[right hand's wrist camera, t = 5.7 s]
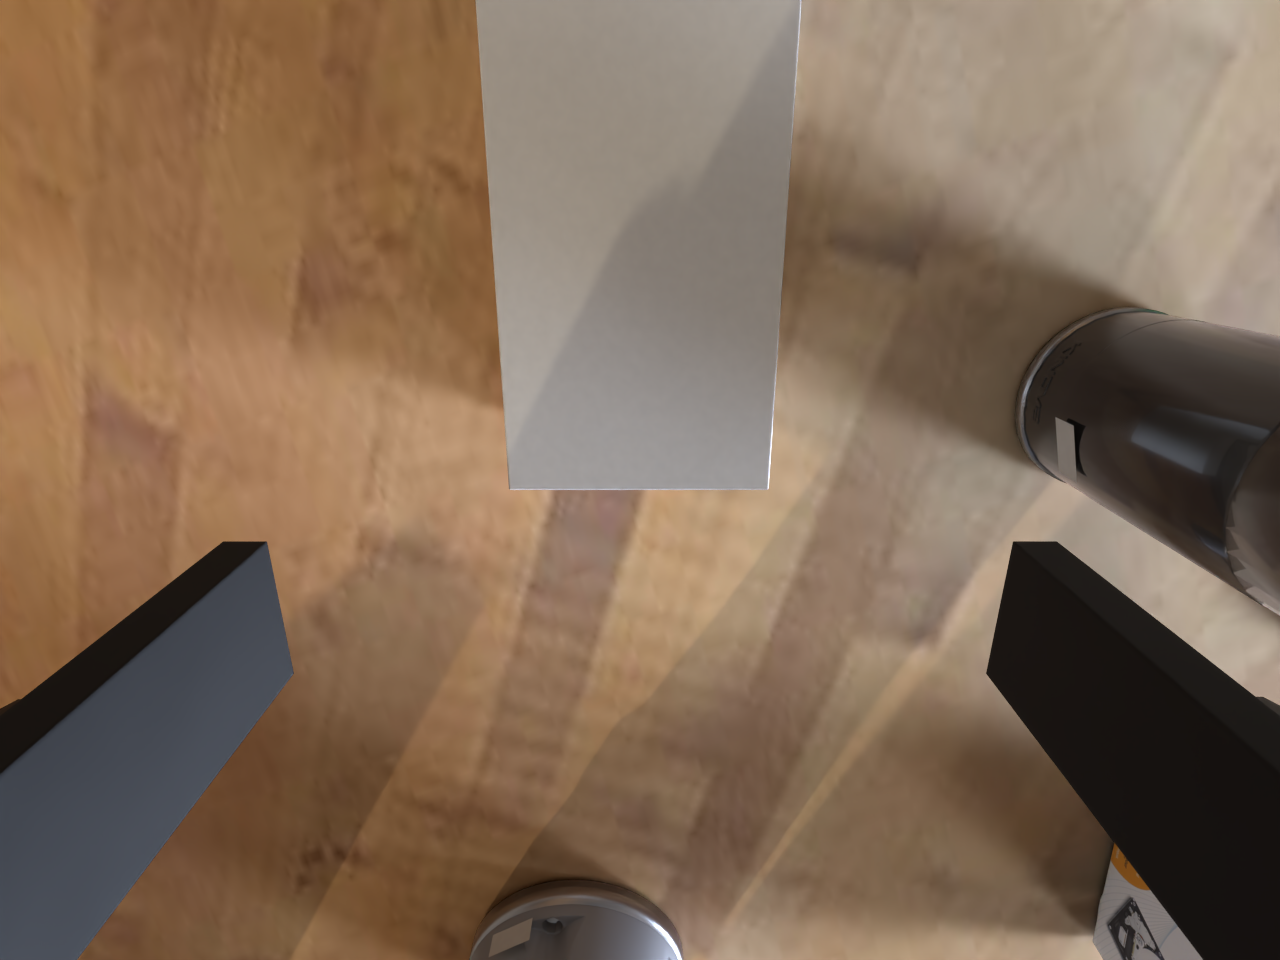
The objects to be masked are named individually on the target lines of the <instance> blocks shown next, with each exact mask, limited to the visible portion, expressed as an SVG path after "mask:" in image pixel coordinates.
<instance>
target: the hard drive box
mask: <svg viewBox="0 0 1280 960" xmlns="http://www.w3.org/2000/svg"><path fill="white" fill-rule="evenodd" d="M1093 943H1094V945H1095V946H1096V948H1097V950H1098V951H1099V953H1100V955H1101V956H1102V958H1103V959H1104V960H1203V959H1202V958H1201V956H1200V955H1199V954H1198V952H1197V951H1196V950H1195V948H1194V947H1193V946H1192V944H1191V943H1190V942H1189V941H1188V939H1187V938H1186V937H1185V935H1184V934H1183V933H1182V931H1181V930H1180V929H1179V927H1178V926H1177V925H1176V923H1175V922H1174V921H1173V919H1172V918H1171V917H1170V915H1169V914H1168V913H1167V911H1166V910H1165V909H1164V907H1163V906H1162V905H1161V904H1160V902H1159V901H1158V900H1157V898H1156V897H1155V896H1154V894H1153V893H1152V892H1151V890H1150V889H1149V888H1148V886H1147V885H1146V884H1145V882H1144V881H1143V880H1142V878H1141V877H1140V876H1139V874H1138V873H1137V872H1136V871H1135V869H1134V868H1133V867H1132V865H1131V864H1130V863H1129V861H1128V860H1127V859H1126V857H1125V856H1124V855H1123V853H1122V852H1121V851H1120V849H1119V848H1118V847H1117V845H1116V844H1115V843H1114V847H1113V851H1112V856H1111V860H1110V865H1109V870H1108V874H1107V878H1106V883H1105V887H1104V891H1103V894H1102V896H1101V898H1100V903H1099V909H1098V917H1097V922H1096V927H1095V932H1094V937H1093Z"/></svg>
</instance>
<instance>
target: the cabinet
mask: <svg viewBox="0 0 1280 960" xmlns="http://www.w3.org/2000/svg"><path fill="white" fill-rule="evenodd" d="M476 15H477V29H478V44H479V58H480V73H481V87H482V102H483V116H484V131H485V146H486V160H487V175H488V189H489V204H490V218H491V233H492V247H493V262H494V276H495V291H496V306H497V320H498V335H499V349H500V364H501V378H502V393H503V407H504V422H505V436H506V451H507V466H508V480H509V489H510V490H768V488H769V473H770V458H771V444H772V429H773V414H774V399H775V385H776V370H777V355H778V340H779V325H780V311H781V296H782V281H783V266H784V252H785V237H786V222H787V207H788V192H789V178H790V163H791V148H792V133H793V119H794V104H795V89H796V74H797V60H798V45H799V30H800V15H801V0H476Z"/></svg>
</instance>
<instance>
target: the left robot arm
mask: <svg viewBox="0 0 1280 960" xmlns="http://www.w3.org/2000/svg"><path fill="white" fill-rule="evenodd" d="M1015 423H1016V430H1017V434H1018V437H1019V440H1020V443H1021V445H1022V447H1023V449H1024V451H1025V453H1026V454H1027V455H1028V457H1029V458H1030V459H1031V460H1032V462H1033V463H1034V464H1035V465H1037V466H1038V467H1039V468H1040V469H1041V470H1043V471H1044V472H1046V473H1047V474H1049V475H1051V476H1052V477H1054V478H1056V479H1058V480H1060V481H1062V482H1064V483H1067V484H1069V485H1071V486H1072V487H1074V488H1075V489H1077V490H1078V491H1080V492H1082V493H1083V494H1085V495H1086V496H1088V497H1089V498H1091V499H1092V500H1094V501H1095V502H1097V503H1099V504H1100V505H1102V506H1103V507H1105V508H1107V509H1108V510H1110V511H1111V512H1113V513H1115V514H1116V515H1118V516H1119V517H1121V518H1123V519H1124V520H1126V521H1127V522H1129V523H1131V524H1132V525H1134V526H1136V527H1137V528H1139V529H1140V530H1142V531H1144V532H1145V533H1147V534H1148V535H1150V536H1152V537H1153V538H1155V539H1156V540H1158V541H1160V542H1161V543H1163V544H1164V545H1166V546H1168V547H1169V548H1171V549H1172V550H1174V551H1176V552H1177V553H1179V554H1181V555H1182V556H1184V557H1185V558H1187V559H1189V560H1190V561H1192V562H1193V563H1195V564H1197V565H1198V566H1200V567H1201V568H1203V569H1205V570H1206V571H1208V572H1209V573H1211V574H1213V575H1214V576H1216V577H1217V578H1219V579H1221V580H1222V581H1224V582H1226V583H1227V584H1229V585H1230V586H1232V587H1234V588H1235V589H1237V590H1238V591H1240V592H1242V593H1243V594H1245V595H1246V596H1248V597H1250V598H1251V599H1253V600H1254V601H1256V602H1258V603H1259V604H1261V605H1263V606H1265V607H1267V608H1268V609H1270V610H1271V611H1273V612H1275V613H1276V614H1278V615H1279V616H1280V336H1276V335H1271V334H1265V333H1260V332H1255V331H1249V330H1244V329H1238V328H1233V327H1228V326H1222V325H1217V324H1212V323H1207V322H1203V321H1197V320H1192V319H1186V318H1181V317H1175V316H1170V315H1168V314H1165V313H1162V312H1159V311H1155V310H1149V309H1144V308H1136V307H1120V308H1112V309H1107V310H1103V311H1099V312H1096V313H1093V314H1091V315H1088V316H1086V317H1083V318H1081V319H1080V320H1078V321H1076V322H1074V323H1072V324H1071V325H1069V326H1067V327H1066V328H1064V329H1063V330H1062V331H1060V332H1059V333H1058V334H1057V335H1055V336H1054V337H1053V338H1052V339H1051V340H1050V341H1049V342H1048V343H1047V344H1046V345H1045V346H1044V347H1043V348H1042V349H1041V351H1040V352H1039V353H1038V354H1037V356H1036V357H1035V358H1034V360H1033V361H1032V363H1031V364H1030V366H1029V368H1028V370H1027V371H1026V373H1025V375H1024V378H1023V380H1022V382H1021V385H1020V388H1019V391H1018V395H1017V400H1016V407H1015Z"/></svg>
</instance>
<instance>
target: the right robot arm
mask: <svg viewBox="0 0 1280 960" xmlns="http://www.w3.org/2000/svg"><path fill="white" fill-rule="evenodd" d="M293 674H294V672H293V667H292V663H291V658H290V653H289V648H288V643H287V638H286V633H285V628H284V623H283V618H282V614H281V609H280V604H279V599H278V594H277V589H276V584H275V579H274V574H273V570H272V565H271V560H270V555H269V550H268V545H267V542H222V543H221V544H220V545H218V546H217V547H216V548H214V549H213V550H212V551H211V552H209V553H208V554H207V555H205V556H204V557H203V558H202V559H200V560H199V561H198V562H197V563H195V564H194V565H193V566H191V567H190V568H189V569H188V570H186V571H185V572H184V573H182V574H181V575H180V576H179V577H177V578H176V579H175V580H173V581H172V582H171V583H170V584H168V585H167V586H166V587H165V588H163V589H162V590H161V591H159V592H158V593H157V594H156V595H154V596H153V597H152V598H150V599H149V600H148V601H147V602H145V603H144V604H143V605H141V606H140V607H139V608H138V609H136V610H135V611H134V612H132V613H131V614H130V615H129V616H127V617H126V618H125V619H124V620H122V621H121V622H120V623H118V624H117V625H116V626H115V627H113V628H112V629H111V630H109V631H108V632H107V633H106V634H104V635H103V636H102V637H100V638H99V639H98V640H97V641H95V642H94V643H93V644H92V645H90V646H89V647H88V648H86V649H85V650H84V651H83V652H81V653H80V654H79V655H77V656H76V657H75V658H74V659H72V660H71V661H70V662H68V663H67V664H66V665H65V666H63V667H62V668H61V669H60V670H58V671H57V672H56V673H54V674H53V675H52V676H51V677H49V678H48V679H47V680H45V681H44V682H43V683H42V684H40V685H39V686H38V687H36V688H35V689H34V690H33V691H31V692H30V693H29V694H27V695H26V696H25V697H24V698H22V699H18V700H16V701H14V702H12V703H10V704H8V705H6V706H5V707H3V708H1V709H0V960H77V959H78V958H79V956H80V955H81V954H82V952H83V951H84V950H85V948H86V947H87V946H88V944H89V943H90V942H91V941H92V939H93V938H94V937H95V935H96V934H97V933H98V931H99V930H100V929H101V927H102V926H103V925H104V923H105V922H106V921H107V919H108V918H109V917H110V915H111V914H112V913H113V911H114V910H115V909H116V907H117V906H118V905H119V904H120V902H121V901H122V900H123V898H124V897H125V896H126V894H127V893H128V892H129V890H130V889H131V888H132V886H133V885H134V884H135V882H136V881H137V880H138V878H139V877H140V876H141V874H142V873H143V872H144V871H145V869H146V868H147V867H148V865H149V864H150V863H151V861H152V860H153V859H154V857H155V856H156V855H157V853H158V852H159V851H160V849H161V848H162V847H163V845H164V844H165V843H166V841H167V840H168V839H169V838H170V836H171V835H172V834H173V832H174V831H175V830H176V828H177V827H178V826H179V824H180V823H181V822H182V820H183V819H184V818H185V816H186V815H187V814H188V812H189V811H190V810H191V808H192V807H193V806H194V804H195V803H196V802H197V801H198V799H199V798H200V797H201V795H202V794H203V793H204V791H205V790H206V789H207V787H208V786H209V785H210V783H211V782H212V781H213V779H214V778H215V777H216V775H217V774H218V773H219V771H220V770H221V769H222V768H223V766H224V765H225V764H226V762H227V761H228V760H229V758H230V757H231V756H232V754H233V753H234V752H235V750H236V749H237V748H238V746H239V745H240V744H241V742H242V741H243V740H244V738H245V737H246V736H247V734H248V733H249V732H250V731H251V729H252V728H253V727H254V725H255V724H256V723H257V721H258V720H259V719H260V717H261V716H262V715H263V713H264V712H265V711H266V709H267V708H268V707H269V705H270V704H271V703H272V701H273V700H274V699H275V698H276V696H277V695H278V694H279V692H280V691H281V690H282V688H283V687H284V686H285V684H286V683H287V682H288V680H289V679H290V678H291V676H292V675H293ZM986 674H987V675H988V676H989V678H990V679H991V680H992V682H993V683H994V684H995V686H996V687H997V688H998V690H999V691H1000V692H1001V694H1002V695H1003V696H1004V698H1005V699H1006V700H1007V701H1008V703H1009V704H1010V705H1011V707H1012V708H1013V709H1014V711H1015V712H1016V713H1017V715H1018V716H1019V717H1020V719H1021V720H1022V721H1023V723H1024V724H1025V725H1026V727H1027V728H1028V729H1029V731H1030V732H1031V733H1032V734H1033V736H1034V737H1035V738H1036V740H1037V741H1038V742H1039V744H1040V745H1041V746H1042V748H1043V749H1044V750H1045V752H1046V753H1047V754H1048V756H1049V757H1050V758H1051V760H1052V761H1053V762H1054V764H1055V765H1056V766H1057V768H1058V769H1059V770H1060V771H1061V773H1062V774H1063V775H1064V777H1065V778H1066V779H1067V781H1068V782H1069V783H1070V785H1071V786H1072V787H1073V789H1074V790H1075V791H1076V793H1077V794H1078V795H1079V797H1080V798H1081V799H1082V801H1083V802H1084V803H1085V804H1086V806H1087V807H1088V808H1089V810H1090V811H1091V812H1092V814H1093V815H1094V816H1095V818H1096V819H1097V820H1098V822H1099V823H1100V824H1101V826H1102V827H1103V828H1104V830H1105V831H1106V832H1107V834H1108V835H1109V836H1110V838H1111V839H1112V840H1113V841H1114V843H1115V844H1116V845H1117V847H1118V848H1119V849H1120V851H1121V852H1122V853H1123V855H1124V856H1125V857H1126V859H1127V860H1128V861H1129V863H1130V864H1131V865H1132V867H1133V868H1134V869H1135V871H1136V872H1137V873H1138V874H1139V876H1140V877H1141V878H1142V880H1143V881H1144V882H1145V884H1146V885H1147V886H1148V888H1149V889H1150V890H1151V892H1152V893H1153V894H1154V896H1155V897H1156V898H1157V900H1158V901H1159V902H1160V904H1161V905H1162V906H1163V907H1164V909H1165V910H1166V911H1167V913H1168V914H1169V915H1170V917H1171V918H1172V919H1173V921H1174V922H1175V923H1176V925H1177V926H1178V927H1179V929H1180V930H1181V931H1182V933H1183V934H1184V935H1185V937H1186V938H1187V939H1188V941H1189V942H1190V943H1191V944H1192V946H1193V947H1194V948H1195V950H1196V951H1197V952H1198V954H1199V955H1200V956H1201V958H1202V959H1203V960H1280V706H1279V705H1277V704H1276V703H1274V702H1272V701H1270V700H1268V699H1266V698H1264V697H1255V696H1254V695H1253V694H1251V693H1250V692H1249V691H1247V690H1246V689H1245V688H1244V687H1242V686H1241V685H1240V684H1238V683H1237V682H1236V681H1235V680H1233V679H1232V678H1231V677H1229V676H1228V675H1227V674H1226V673H1224V672H1223V671H1222V670H1220V669H1219V668H1218V667H1217V666H1215V665H1214V664H1213V663H1212V662H1210V661H1209V660H1208V659H1206V658H1205V657H1204V656H1203V655H1201V654H1200V653H1199V652H1197V651H1196V650H1195V649H1194V648H1192V647H1191V646H1190V645H1188V644H1187V643H1186V642H1185V641H1183V640H1182V639H1181V638H1180V637H1178V636H1177V635H1176V634H1174V633H1173V632H1172V631H1171V630H1169V629H1168V628H1167V627H1165V626H1164V625H1163V624H1162V623H1160V622H1159V621H1158V620H1156V619H1155V618H1154V617H1153V616H1151V615H1150V614H1149V613H1147V612H1146V611H1145V610H1144V609H1142V608H1141V607H1140V606H1139V605H1137V604H1136V603H1135V602H1133V601H1132V600H1131V599H1130V598H1128V597H1127V596H1126V595H1124V594H1123V593H1122V592H1121V591H1119V590H1118V589H1117V588H1115V587H1114V586H1113V585H1112V584H1110V583H1109V582H1108V581H1107V580H1105V579H1104V578H1103V577H1101V576H1100V575H1099V574H1098V573H1096V572H1095V571H1094V570H1092V569H1091V568H1090V567H1089V566H1087V565H1086V564H1085V563H1083V562H1082V561H1081V560H1080V559H1078V558H1077V557H1076V556H1075V555H1073V554H1072V553H1071V552H1069V551H1068V550H1067V549H1066V548H1064V547H1063V546H1062V545H1060V544H1059V543H1058V542H1013V545H1012V550H1011V555H1010V560H1009V565H1008V570H1007V574H1006V579H1005V584H1004V589H1003V594H1002V599H1001V604H1000V609H999V614H998V618H997V623H996V628H995V633H994V638H993V643H992V648H991V653H990V658H989V663H988V667H987V672H986ZM469 960H683V950H682V944H681V941H680V938H679V935H678V933H677V931H676V929H675V927H674V926H673V924H672V922H671V921H670V920H669V919H668V917H667V916H666V915H665V914H664V913H663V912H662V911H661V910H660V909H659V908H658V907H656V906H655V905H654V904H653V903H651V902H650V901H648V900H647V899H645V898H643V897H641V896H640V895H638V894H636V893H634V892H631V891H629V890H627V889H624V888H621V887H618V886H615V885H611V884H607V883H602V882H596V881H587V880H562V881H553V882H548V883H542V884H539V885H535V886H532V887H529V888H526V889H523V890H521V891H519V892H517V893H514V894H513V895H511V896H509V897H507V898H506V899H504V900H503V901H501V902H500V903H499V904H497V905H496V906H495V907H494V908H493V909H492V910H491V911H490V912H489V913H488V914H487V915H486V916H485V918H484V919H483V921H482V922H481V924H480V925H479V927H478V929H477V932H476V934H475V938H474V942H473V946H472V950H471V955H470V959H469Z"/></svg>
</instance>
